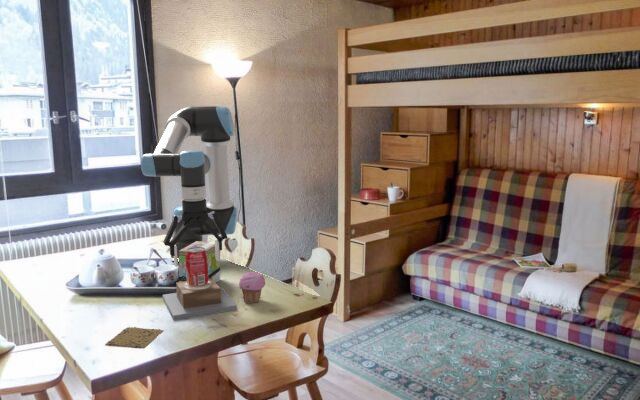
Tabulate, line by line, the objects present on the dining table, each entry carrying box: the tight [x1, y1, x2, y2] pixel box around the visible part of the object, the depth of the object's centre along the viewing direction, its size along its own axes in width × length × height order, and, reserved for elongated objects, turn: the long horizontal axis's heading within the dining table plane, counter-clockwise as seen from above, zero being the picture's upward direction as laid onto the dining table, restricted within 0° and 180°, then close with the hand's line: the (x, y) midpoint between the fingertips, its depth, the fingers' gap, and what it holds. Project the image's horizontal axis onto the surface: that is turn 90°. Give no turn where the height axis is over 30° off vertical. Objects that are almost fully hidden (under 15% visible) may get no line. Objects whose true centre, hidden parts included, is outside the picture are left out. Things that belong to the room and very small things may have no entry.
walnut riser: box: [175, 278, 221, 309], centre depth 176 cm, size 12×12×5 cm
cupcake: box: [238, 271, 266, 304], centre depth 179 cm, size 9×9×10 cm
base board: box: [162, 285, 237, 321], centre depth 177 cm, size 20×20×2 cm
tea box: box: [178, 241, 221, 283], centre depth 195 cm, size 15×10×15 cm, turn 168°
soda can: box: [186, 247, 208, 287], centre depth 175 cm, size 7×7×12 cm
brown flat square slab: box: [104, 326, 164, 349], centre depth 152 cm, size 12×12×1 cm
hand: (197, 262), depth 175 cm, fingers open, 13 cm apart
